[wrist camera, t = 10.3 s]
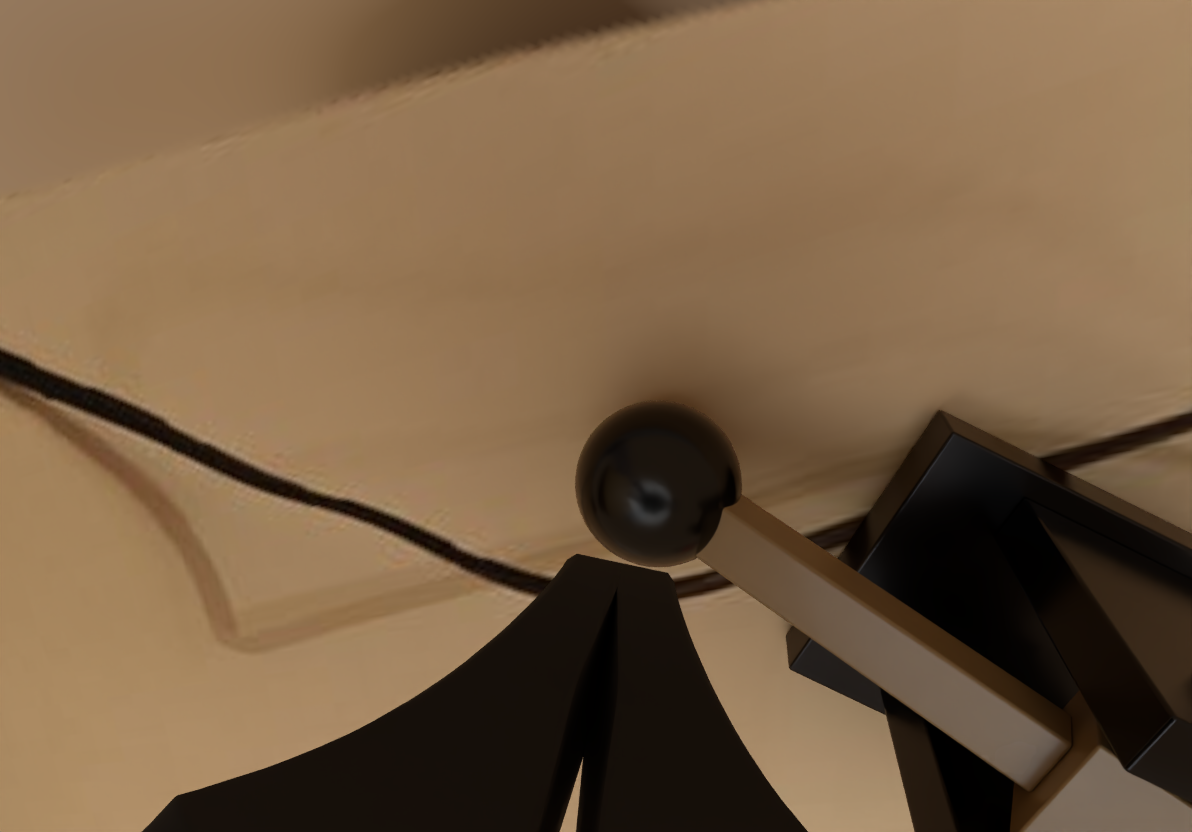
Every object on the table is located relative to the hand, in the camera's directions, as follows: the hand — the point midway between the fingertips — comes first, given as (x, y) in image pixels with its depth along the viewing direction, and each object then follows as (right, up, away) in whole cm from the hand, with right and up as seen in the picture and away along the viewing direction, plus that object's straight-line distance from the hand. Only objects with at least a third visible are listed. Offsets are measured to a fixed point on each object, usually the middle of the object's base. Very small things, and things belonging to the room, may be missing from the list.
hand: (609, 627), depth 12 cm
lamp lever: (+5, -1, +4) cm, 7 cm away
